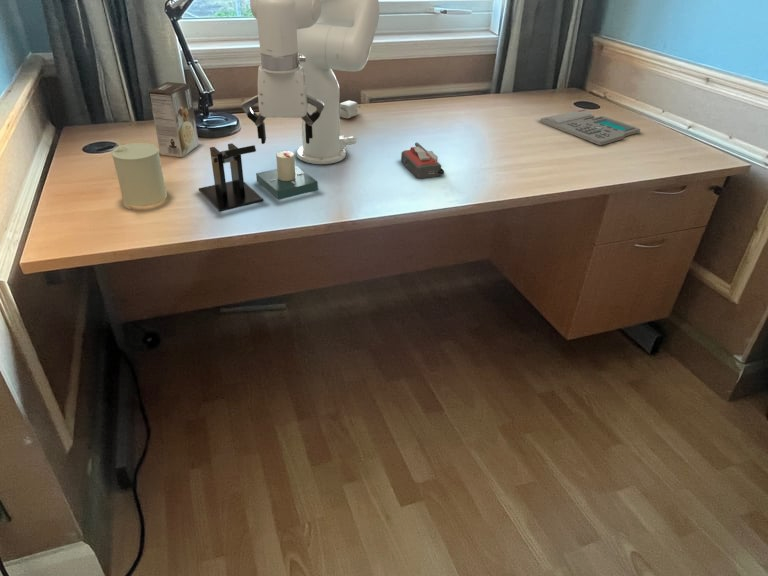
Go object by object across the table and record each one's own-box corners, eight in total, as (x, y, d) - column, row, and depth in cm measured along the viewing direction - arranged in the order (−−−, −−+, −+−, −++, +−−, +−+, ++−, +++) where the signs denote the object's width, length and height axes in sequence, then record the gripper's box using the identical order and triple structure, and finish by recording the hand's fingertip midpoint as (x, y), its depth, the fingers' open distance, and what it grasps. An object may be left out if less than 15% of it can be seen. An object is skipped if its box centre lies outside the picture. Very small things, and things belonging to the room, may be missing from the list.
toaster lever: (257, 154, 116) (253, 142, 116) (228, 159, 113) (225, 147, 113) (238, 160, 126) (235, 149, 125) (212, 165, 123) (208, 154, 123)
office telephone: (540, 114, 179) (583, 104, 189) (539, 122, 181) (581, 112, 190) (602, 137, 164) (645, 125, 173) (600, 146, 165) (643, 134, 175)
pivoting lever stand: (263, 205, 127) (259, 153, 121) (219, 216, 122) (212, 163, 116) (241, 185, 135) (236, 135, 128) (199, 194, 130) (191, 143, 124)
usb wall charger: (338, 116, 178) (338, 103, 176) (352, 110, 183) (352, 98, 180) (349, 119, 176) (349, 105, 174) (362, 113, 181) (362, 100, 178)
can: (129, 191, 130) (118, 140, 123) (172, 191, 131) (162, 140, 124) (117, 211, 122) (104, 156, 116) (162, 210, 123) (152, 157, 116)
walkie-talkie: (451, 177, 143) (419, 148, 159) (453, 160, 141) (420, 132, 156) (418, 181, 141) (389, 151, 156) (420, 164, 138) (390, 135, 153)
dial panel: (295, 176, 140) (294, 164, 138) (318, 193, 133) (317, 181, 131) (257, 185, 135) (255, 172, 134) (278, 203, 128) (277, 190, 126)
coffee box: (177, 142, 155) (166, 80, 146) (199, 145, 154) (190, 83, 145) (159, 155, 148) (147, 91, 139) (183, 158, 147) (172, 93, 138)
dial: (274, 175, 133) (273, 151, 130) (290, 172, 135) (289, 148, 131) (282, 182, 130) (280, 157, 127) (298, 178, 132) (297, 154, 129)
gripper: (322, 56, 122) (325, 134, 132) (238, 55, 120) (247, 134, 131) (322, 66, 116) (325, 148, 126) (234, 66, 114) (244, 148, 125)
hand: (285, 141), depth 128 cm, fingers open, 9 cm apart
